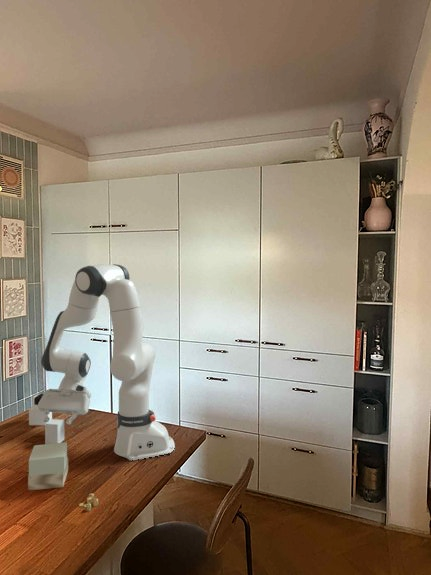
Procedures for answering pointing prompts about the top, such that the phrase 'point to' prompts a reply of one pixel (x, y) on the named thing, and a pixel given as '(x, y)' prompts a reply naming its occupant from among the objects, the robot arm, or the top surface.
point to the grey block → (54, 431)
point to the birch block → (48, 480)
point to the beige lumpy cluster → (89, 501)
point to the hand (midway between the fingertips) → (56, 422)
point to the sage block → (48, 459)
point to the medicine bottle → (37, 412)
